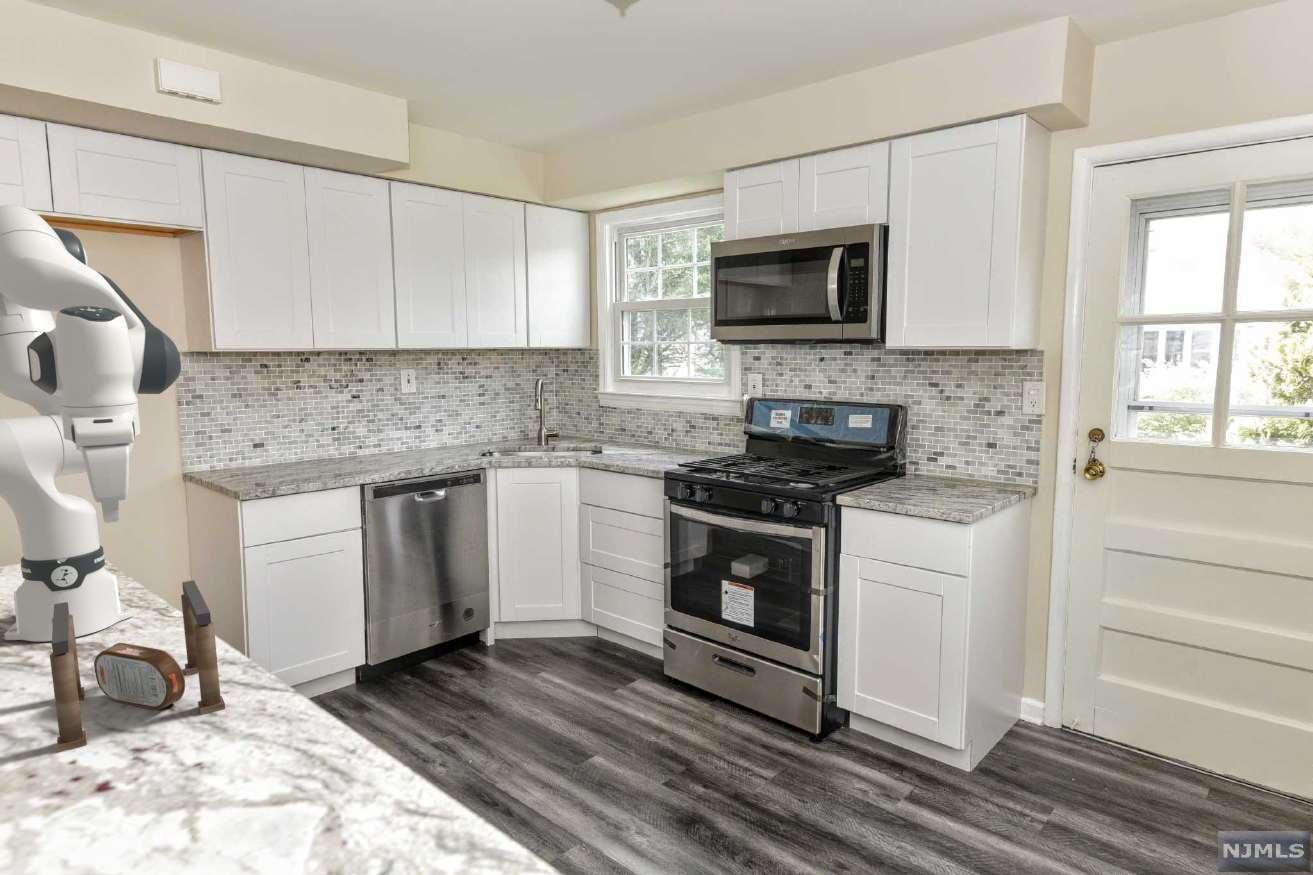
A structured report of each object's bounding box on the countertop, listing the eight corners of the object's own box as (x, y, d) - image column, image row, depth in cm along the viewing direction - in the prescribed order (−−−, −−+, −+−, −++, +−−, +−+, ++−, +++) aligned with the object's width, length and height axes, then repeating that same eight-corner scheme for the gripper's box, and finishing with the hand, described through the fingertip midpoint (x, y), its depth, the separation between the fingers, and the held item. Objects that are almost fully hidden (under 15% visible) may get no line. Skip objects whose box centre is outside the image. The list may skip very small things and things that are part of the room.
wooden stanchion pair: (59, 697, 115) (49, 616, 113) (206, 663, 126) (199, 590, 125) (57, 752, 100) (46, 660, 98) (225, 708, 111) (217, 625, 109)
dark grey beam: (183, 591, 123) (182, 582, 123) (194, 589, 124) (193, 580, 123) (198, 625, 108) (197, 614, 108) (211, 623, 109) (210, 612, 109)
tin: (189, 706, 112) (184, 650, 111) (169, 716, 109) (163, 659, 108) (114, 691, 117) (108, 637, 116) (93, 700, 114) (86, 645, 113)
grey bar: (55, 614, 113) (54, 604, 113) (69, 612, 114) (67, 601, 114) (53, 655, 99) (51, 643, 99) (68, 652, 100) (67, 640, 100)
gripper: (73, 417, 116) (82, 507, 118) (75, 435, 100) (85, 540, 102) (124, 414, 119) (132, 502, 122) (134, 431, 103) (143, 533, 105)
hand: (111, 520), depth 111 cm, fingers closed
